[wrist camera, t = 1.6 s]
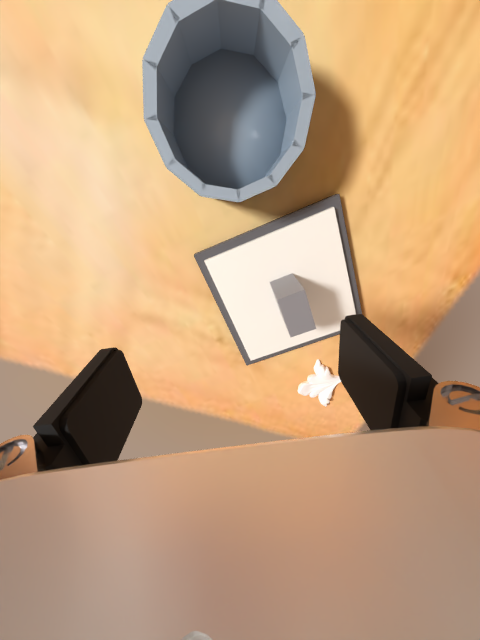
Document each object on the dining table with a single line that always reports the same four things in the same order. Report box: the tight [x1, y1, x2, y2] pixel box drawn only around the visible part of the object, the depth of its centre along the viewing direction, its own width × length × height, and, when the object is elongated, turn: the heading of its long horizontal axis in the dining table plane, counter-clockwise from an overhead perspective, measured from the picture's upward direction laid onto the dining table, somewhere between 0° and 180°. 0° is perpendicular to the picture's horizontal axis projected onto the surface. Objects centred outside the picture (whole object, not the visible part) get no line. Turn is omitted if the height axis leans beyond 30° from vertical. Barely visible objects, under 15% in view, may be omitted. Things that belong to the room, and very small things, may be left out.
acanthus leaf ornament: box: [298, 359, 341, 406], centre depth 41 cm, size 8×7×2 cm
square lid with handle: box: [204, 207, 356, 361], centre depth 30 cm, size 16×16×7 cm
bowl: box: [142, 0, 316, 202], centre depth 22 cm, size 13×13×7 cm
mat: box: [194, 194, 362, 365], centre depth 33 cm, size 18×18×1 cm
